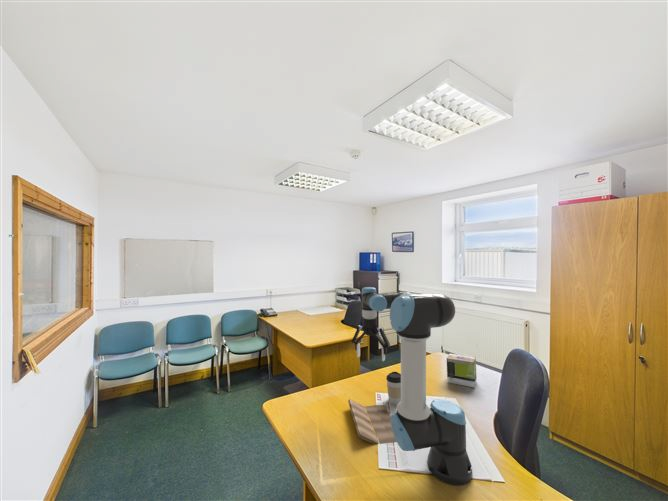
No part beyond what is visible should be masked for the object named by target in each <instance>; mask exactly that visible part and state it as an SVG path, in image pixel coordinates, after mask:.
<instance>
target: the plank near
mask: <svg viewBox="0 0 668 501" xmlns="http://www.w3.org/2000/svg"><path fill="white" fill-rule="evenodd" d="M352 419H353V423H354V425H355V426H354V427H355V429H356V432H357V435H358V438H359V439H362V440H365V441H366V442H369V443H371V444H372V445H377V444H380V443H379V440H378V438H377V435H376V433H375V430H374V428H373V425H372V423H369V422H367V421H365V420H363V419H361V418H359V417H357V416H355V415H354V416H352Z"/></svg>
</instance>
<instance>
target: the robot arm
mask: <svg viewBox="0 0 668 501" xmlns="http://www.w3.org/2000/svg"><path fill="white" fill-rule="evenodd" d="M384 310H389V320H390V325H391V328H392V330H394V331H396V332H395V333H396V335H397V336H398V337H399V338H400V374H401V401H400V402H399V403H398V404H396V412H393V413H392V414H390V416H391V418H390V420H391V426H392V430H393V434H394V436H395V439H396V441H397V442H396V443H397V445H398V446H399V448H400V449H401V450H402V451H404V452H412V451H413V452H415V451H417V450H421V449H426V448H427V449H428V448H430V449H429V451H428V453H427V454H428V455H427V464H428V470H429V471H431V472H430V473H431V474H432V476H434V478H436V479H438V480H439V481H440V482H443V483H445V484H449V485H454V486H461V485H462V486H463V485H466V484H467V483H469V482H470V481H471V479H472V478H473V467H472V466H473V465H472V462H471V460H470V457H469V454H468V451H467V430H466V425H467V420H466V415H465V414H466V413H465V410H464V409H463V408H462V407H461V406H459V405H458V404H457V403H455V402H453V401H450V400H446V399H441V398H440V399H433V400H432V401H431V403H430V407H429V405H427V340H428V339H430V338H431V333H432V332H431V330H432V328H441V327H445V326H446V325H448V324H450V323H451V322H452V321H453V319H454V317H455V316H456V315H455V314H456V307H455V302H453V300H452V299H451V298H450V297H449V296H447V295H445V294H442V293H425V294H423V293H422V294H415V293H414V294H413V293H411V292H408V291H407V292H406V291H402V292H390V293H378V292H377V289H376V287H372V286H365V287H362V289H361V317H362V325H360V324H359V325H357V326H356V331H355V333H354V335H353V337H352V340H351V343H352V344H354V349H355V351H356V358H359V357H361V343H360V341H361V340H362V339H363V338H364V337H365V335H366V336H370V337H374V338H375V339H376V341H378V343H379V344H380V345H381V362H384V361H385V360H386V355H387V352H388V351H387V349H388V348H389V347H391V343H390V341H389V339H388V337H387V335H386V333H385V330H384V327H382V326H381V327H378V318H377V317H378V312H379V313H380V312H383V311H384ZM361 330H362V331H363V332H362V333H361V334H360V336H359V333H360V331H361ZM358 336H359V337H358Z"/></svg>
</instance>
